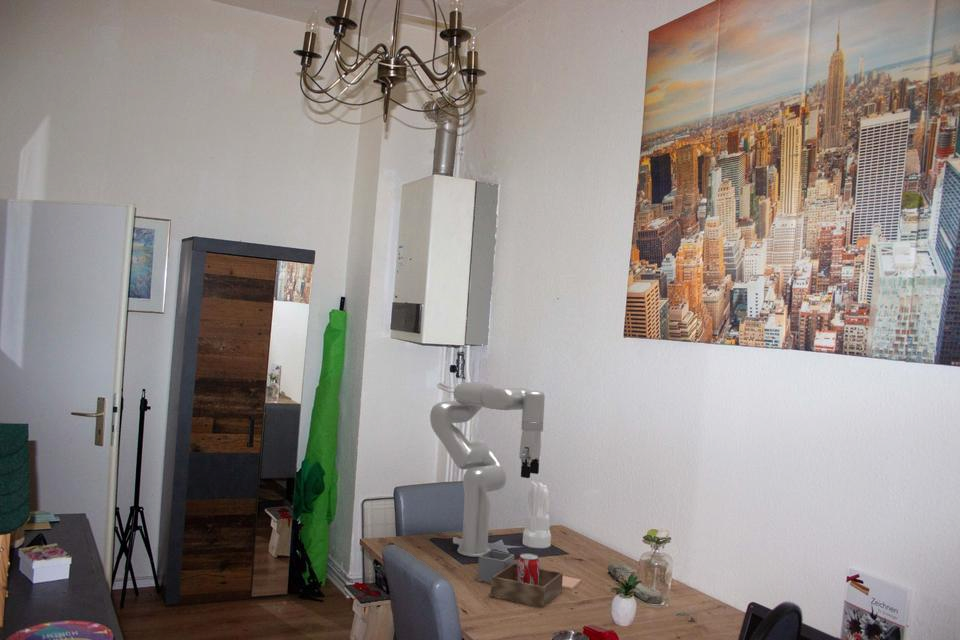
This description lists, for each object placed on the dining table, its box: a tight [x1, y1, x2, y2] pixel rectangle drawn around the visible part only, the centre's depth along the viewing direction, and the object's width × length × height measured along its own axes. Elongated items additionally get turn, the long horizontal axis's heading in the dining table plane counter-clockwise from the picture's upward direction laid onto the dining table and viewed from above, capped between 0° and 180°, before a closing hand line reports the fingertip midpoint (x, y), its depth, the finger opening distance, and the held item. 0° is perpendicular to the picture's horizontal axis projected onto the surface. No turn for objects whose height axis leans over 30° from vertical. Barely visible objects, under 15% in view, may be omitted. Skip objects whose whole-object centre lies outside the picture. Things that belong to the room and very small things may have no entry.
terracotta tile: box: [562, 575, 582, 591], centre depth 267 cm, size 10×10×1 cm
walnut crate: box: [490, 562, 564, 608], centre depth 254 cm, size 17×17×6 cm
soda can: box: [516, 553, 541, 586], centre depth 254 cm, size 7×7×12 cm
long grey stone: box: [607, 561, 663, 605], centre depth 270 cm, size 35×5×10 cm
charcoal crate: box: [477, 549, 515, 584], centre depth 267 cm, size 9×9×8 cm
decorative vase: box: [522, 480, 552, 549], centre depth 313 cm, size 11×11×25 cm
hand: (529, 475), depth 280 cm, fingers open, 9 cm apart
